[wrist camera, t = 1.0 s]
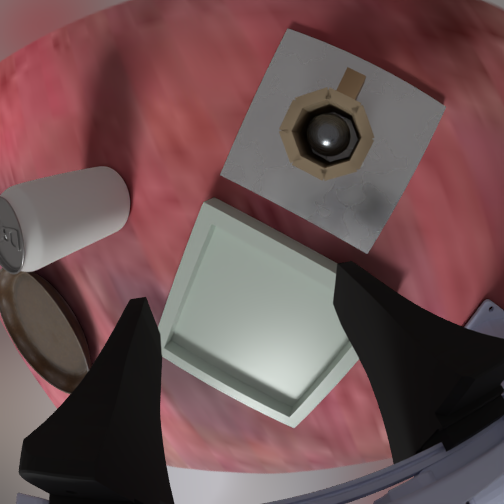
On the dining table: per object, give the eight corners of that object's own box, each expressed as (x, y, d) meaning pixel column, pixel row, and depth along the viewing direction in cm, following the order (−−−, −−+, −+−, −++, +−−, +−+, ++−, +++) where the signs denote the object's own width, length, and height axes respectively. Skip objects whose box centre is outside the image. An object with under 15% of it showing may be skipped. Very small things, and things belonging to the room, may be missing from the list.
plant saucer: (113, 404, 40) (100, 417, 37) (27, 352, 44) (15, 361, 41) (90, 279, 32) (70, 292, 29) (1, 243, 37) (-15, 250, 34)
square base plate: (442, 108, 18) (474, 97, 12) (366, 250, 23) (371, 286, 17) (289, 32, 19) (269, -2, 13) (224, 174, 24) (185, 185, 18)
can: (85, 161, 27) (-19, 184, 16) (135, 170, 26) (23, 198, 15) (83, 224, 30) (-11, 264, 19) (131, 239, 28) (32, 293, 18)
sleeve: (384, 106, 18) (397, 92, 13) (346, 180, 21) (346, 194, 15) (324, 76, 19) (315, 53, 13) (288, 150, 21) (267, 153, 16)
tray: (395, 296, 23) (398, 309, 21) (297, 414, 30) (294, 428, 28) (214, 197, 25) (203, 202, 23) (161, 338, 31) (151, 349, 29)
